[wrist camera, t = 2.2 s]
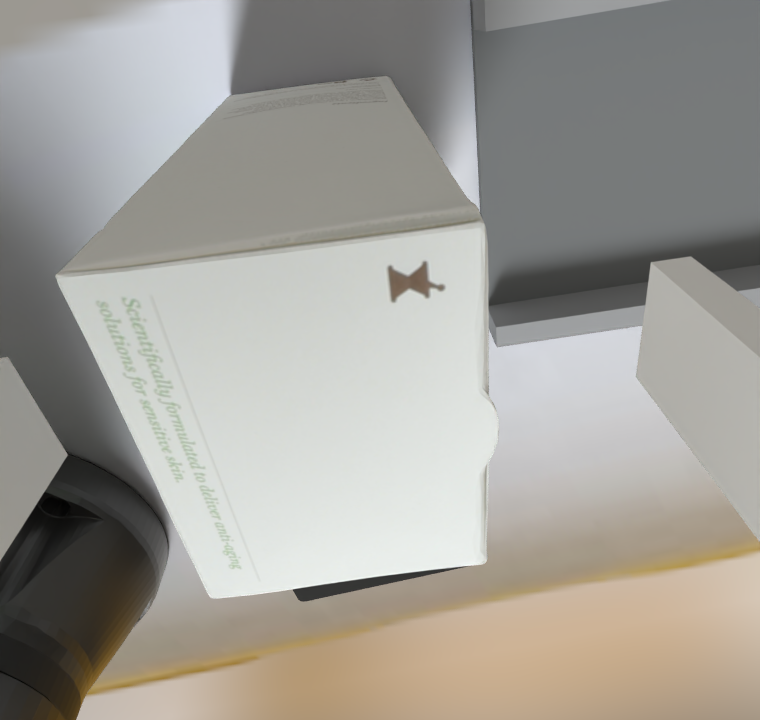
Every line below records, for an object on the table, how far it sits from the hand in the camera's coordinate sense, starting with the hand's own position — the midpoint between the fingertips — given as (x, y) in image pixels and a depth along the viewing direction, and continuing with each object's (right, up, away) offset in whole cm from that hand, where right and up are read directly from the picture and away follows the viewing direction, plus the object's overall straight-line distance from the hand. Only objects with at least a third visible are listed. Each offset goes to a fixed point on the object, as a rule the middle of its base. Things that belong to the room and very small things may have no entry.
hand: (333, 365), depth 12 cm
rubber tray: (+16, +9, +11) cm, 21 cm away
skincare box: (-1, +7, +11) cm, 13 cm away
